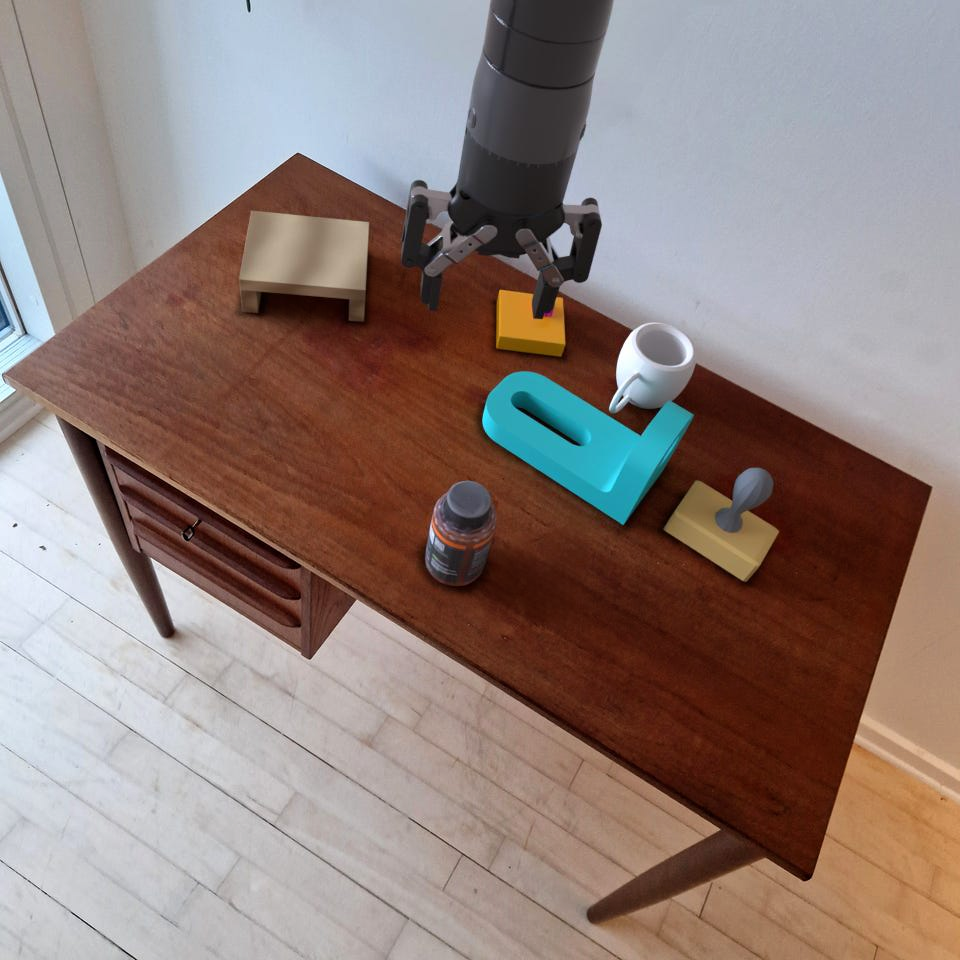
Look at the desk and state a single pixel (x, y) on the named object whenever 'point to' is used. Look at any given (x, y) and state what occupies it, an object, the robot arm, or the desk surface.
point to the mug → (653, 366)
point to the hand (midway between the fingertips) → (484, 307)
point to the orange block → (528, 325)
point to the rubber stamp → (727, 523)
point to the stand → (305, 259)
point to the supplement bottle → (460, 534)
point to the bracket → (582, 441)
